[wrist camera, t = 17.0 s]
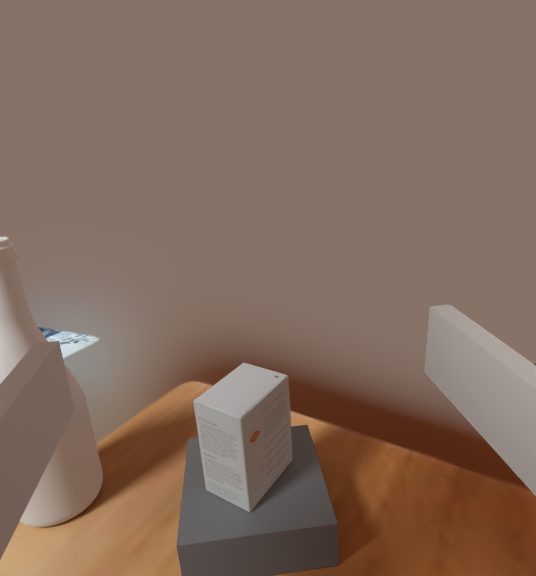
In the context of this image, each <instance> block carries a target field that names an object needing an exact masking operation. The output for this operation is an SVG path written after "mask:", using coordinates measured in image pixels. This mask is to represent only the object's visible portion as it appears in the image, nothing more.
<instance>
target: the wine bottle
mask: <svg viewBox="0 0 536 576" xmlns="http://www.w3.org/2000/svg"><path fill="white" fill-rule="evenodd" d="M17 260H18V257H17V253H16V249H15V245H14V244H13V243H11V241H10V239H9V238H8V237H0V384H1V383H2V382H3V380H4V379H5V378H6V377H7V376H8V375H9V373H10V372H11V371H12V370H13V369H14V367H15V366H16V365H17V364H18V363H19V362H20V360H21V359H22V358H23V357H24V356H25V355H26V353H27V352H28V351H29V350H30V349H31V348H32V346H33V345H34V344H35V343H45V342H48V341H47V339H46V338H45V337H44V335H43V334H42V332H41V331H40V330H39V328H38V327H37V325H36V323H35V321H34V319H33V317H32V315H31V312H30V309H29V305H28V302H27V298H26V295H25V292H24V288H23V284H22V281H21V277H20V274H19V272H18V268H17V265H16V261H17ZM65 370H66V374H67V378H68V382H69V387H70V391H71V395H72V399H73V403H74V408H75V411H74V413H73V415H72V417H71V419H70V421H69V423H68V425H67V427H66V429H65V431H64V433H63V435H62V437H61V439H60V441H59V443H58V445H57V447H56V449H55V451H54V453H53V455H52V457H51V459H50V461H49V463H48V465H47V467H46V469H45V471H44V473H43V475H42V477H41V479H40V481H39V483H38V485H37V487H36V489H35V491H34V493H33V495H32V497H31V499H30V501H29V503H28V505H27V507H26V509H25V511H24V513H23V515H22V517H21V519H20V522H21V523H23V524H25V525H27V526H31V527H49V526H54V525H57V524H60V523H63V522H65V521H68V520H70V519H71V518H73V517H75V516H77V515H78V514H80V513H81V512H82V511H84V510H85V509H86V508H87V507H88V506H89V505H90V504H91V503H92V502H93V501H94V500H95V498H96V497H97V495H98V493H99V492H100V490H101V486H102V483H103V471H102V467H101V463H100V458H99V454H98V450H97V446H96V441H95V437H94V433H93V428H92V424H91V420H90V416H89V411H88V407H87V403H86V398H85V395H84V392H83V391H82V389H81V387H80V386H79V384H78V383H77V381H76V379H75V378H74V376H73V375H72V374H71V372H70V371H69V370H68V368H67V367H66V366H65Z"/></svg>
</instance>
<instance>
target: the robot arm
mask: <svg viewBox="0 0 536 576" xmlns="http://www.w3.org/2000/svg"><path fill="white" fill-rule="evenodd" d="M424 372H425V373H426V374H427V375H428V377H429V378H430V379H431V380H432V381H433V382H434V383H435V384H436V386H437V387H438V388H439V389H440V390H441V391H442V392H443V393H444V394H445V395H446V397H447V398H448V399H449V400H450V401H451V402H452V403H453V404H454V406H455V407H456V408H457V409H458V410H459V411H460V412H461V413H462V415H463V416H464V417H465V418H466V419H467V420H468V421H469V422H470V423H471V425H472V426H473V427H474V428H475V429H476V430H477V431H478V432H479V433H480V435H481V436H482V437H483V438H484V439H485V440H486V441H487V442H488V443H489V445H490V446H491V447H492V448H493V449H494V450H495V451H496V452H497V454H498V455H499V456H500V457H501V458H502V459H503V460H504V461H505V462H506V464H507V465H508V466H509V467H510V468H511V469H512V470H513V471H514V472H515V473H516V475H517V476H518V477H519V478H520V479H521V480H522V481H523V482H524V484H525V485H526V486H527V487H528V488H529V489H530V490H531V491H532V493H533V494H534V495H535V496H536V364H533V363H531V362H530V361H528V360H527V359H526V358H524V357H523V356H521V355H520V354H519V353H517V352H516V351H514V350H513V349H512V348H510V347H509V346H507V345H506V344H505V343H503V342H502V341H500V340H499V339H498V338H496V337H495V336H493V335H492V334H490V333H489V332H488V331H486V330H485V329H483V328H482V327H481V326H479V325H478V324H476V323H475V322H474V321H472V320H471V319H469V318H468V317H467V316H465V315H464V314H462V313H461V312H460V311H458V310H457V309H455V308H454V307H453V306H451V305H442V306H430V314H429V326H428V337H427V349H426V360H425V371H424ZM74 411H75V408H74V403H73V399H72V395H71V391H70V387H69V382H68V378H67V374H66V370H65V365H64V361H63V357H62V353H61V348H60V344H59V341H56V342H45V343H35V344H34V345H33V346H32V348H31V349H30V350H29V351H28V352H27V353H26V355H25V356H24V357H23V358H22V359H21V360H20V362H19V363H18V364H17V365H16V366H15V367H14V369H13V370H12V371H11V372H10V373H9V375H8V376H7V377H6V378H5V379H4V380H3V382H2V383H1V384H0V559H1V557H2V555H3V553H4V551H5V549H6V547H7V545H8V543H9V541H10V539H11V537H12V535H13V533H14V531H15V529H16V527H17V525H18V523H19V521H20V519H21V517H22V515H23V513H24V511H25V509H26V507H27V505H28V503H29V501H30V499H31V497H32V495H33V493H34V491H35V489H36V487H37V485H38V483H39V481H40V479H41V477H42V475H43V473H44V471H45V469H46V467H47V465H48V463H49V461H50V459H51V457H52V455H53V453H54V451H55V449H56V447H57V445H58V443H59V441H60V439H61V437H62V435H63V433H64V431H65V429H66V427H67V425H68V423H69V421H70V419H71V417H72V415H73V413H74Z"/></svg>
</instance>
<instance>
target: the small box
mask: <svg viewBox="0 0 536 576" xmlns="http://www.w3.org/2000/svg"><path fill="white" fill-rule="evenodd" d="M288 382H289V381H288V375H285V374H281V373H278V372H275V371H271V370H267V369H264V368H261V367H257V366H254V365H250V364H246V363H242V364H241V365H240V366H239V367H237V368H236V369H235V370H233V371H232V372H231V373H230V374H228V375H227V376H225V377H224V378H223V379H221V380H220V381H219V382H217V383H216V384H215V385H214V386H212V387H211V388H210V389H208V390H207V391H206V392H204V393H203V394H202V395H200V396H199V397H198V398H196V399H195V400H194V401H193V403H194V410H195V417H196V424H197V431H198V438H199V445H200V452H201V459H202V466H203V472H204V479H205V486H206V490H207V491H209V492H211V493H213V494H215V495H217V496H219V497H221V498H223V499H225V500H227V501H229V502H230V503H232V504H234V505H236V506H238V507H240V508H242V509H244V510H246V511H248V512H251V511H252V510H253V508H254V507H255V506H256V505H257V503H258V502H259V501H260V500H261V498H262V497H263V496H264V495H265V493H266V492H267V491H268V490H269V488H270V487H271V486H272V485H273V483H274V482H275V481H276V480H277V479H278V477H279V476H280V475H281V474H282V472H283V471H284V470H285V469H286V467H287V466H288V465H289V464H290V462H291V461H292V460H293V456H292V435H291V417H290V401H289V383H288Z"/></svg>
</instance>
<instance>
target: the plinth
mask: <svg viewBox="0 0 536 576" xmlns="http://www.w3.org/2000/svg"><path fill="white" fill-rule="evenodd" d="M291 435H292V456H293V460H292V461H291V462H290V464H289V465H288V466H287V467H286V469H285V470H284V471H283V472H282V474H281V475H280V476H279V477H278V479H277V480H276V481H275V482H274V483H273V485H272V486H271V487H270V488H269V490H268V491H267V492H266V493H265V495H264V496H263V497H262V498H261V500H260V501H259V502H258V503H257V505H256V506H255V507H254V508H253V510H252V511H251V512H248V511H246V510H244V509H242V508H240V507H238V506H236V505H234V504H232V503H230V502H229V501H227V500H225V499H223V498H221V497H219V496H217V495H215V494H213V493H211V492H209V491H207V490H206V486H205V479H204V472H203V466H202V459H201V452H200V445H199V438H192V439H188V447H187V456H186V465H185V474H184V484H183V493H182V502H181V511H180V521H179V530H178V539H177V550H178V556H179V561H180V567H181V573H182V576H269V575H276V574H283V573H290V572H296V571H303V570H310V569H317V568H324V567H331V566H337V565H338V522H337V519H336V516H335V513H334V509H333V506H332V503H331V500H330V497H329V493H328V490H327V487H326V484H325V480H324V477H323V474H322V471H321V467H320V464H319V461H318V458H317V454H316V451H315V448H314V445H313V441H312V438H311V435H310V432H309V428H308V425H301V426H293V427H291Z"/></svg>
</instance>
